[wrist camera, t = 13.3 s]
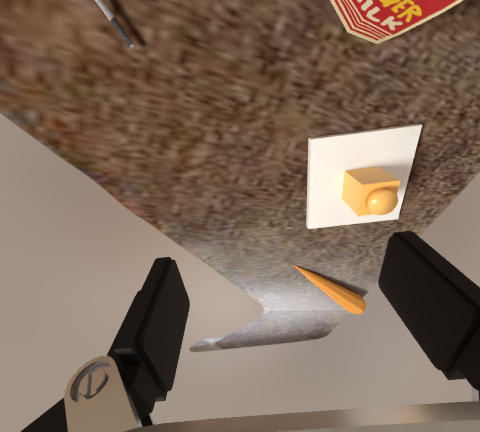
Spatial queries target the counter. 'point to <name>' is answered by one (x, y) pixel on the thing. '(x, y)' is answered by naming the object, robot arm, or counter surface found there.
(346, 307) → the carrot
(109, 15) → the screwdriver
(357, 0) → the milk carton
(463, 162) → the counter surface
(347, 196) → the gold domed block
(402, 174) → the white plate
